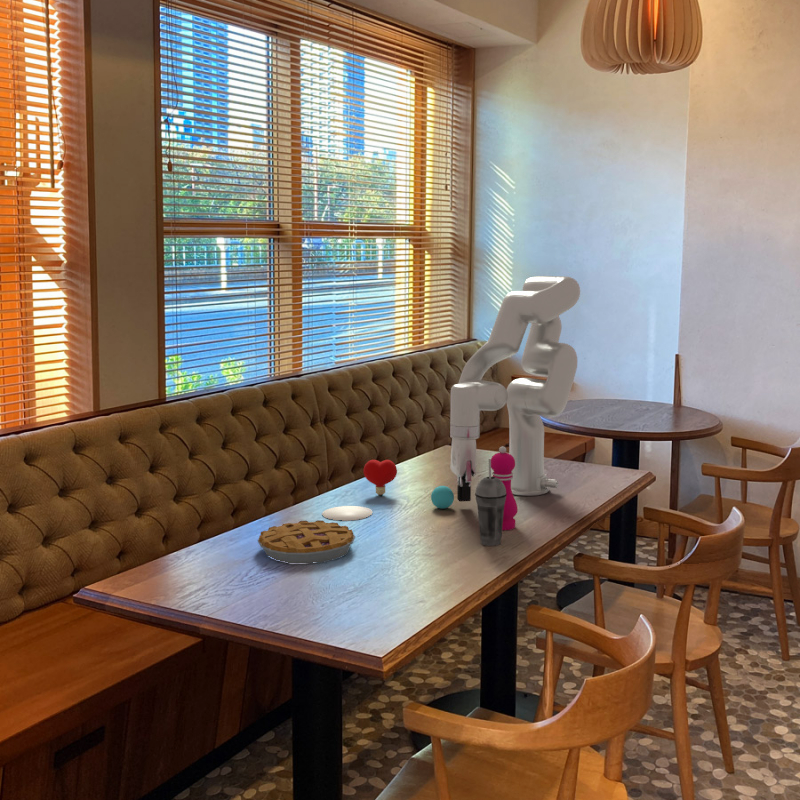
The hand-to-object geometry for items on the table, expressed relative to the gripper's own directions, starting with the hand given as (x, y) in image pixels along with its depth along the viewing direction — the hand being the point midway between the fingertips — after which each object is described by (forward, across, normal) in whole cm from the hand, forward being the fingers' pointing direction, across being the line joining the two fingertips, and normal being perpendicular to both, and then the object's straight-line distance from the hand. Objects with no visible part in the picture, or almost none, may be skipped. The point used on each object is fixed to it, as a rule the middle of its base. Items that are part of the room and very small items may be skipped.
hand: (463, 500), depth 243 cm
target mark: (+3, -1, -31) cm, 31 cm away
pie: (+4, +27, -43) cm, 51 cm away
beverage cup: (+3, +30, -1) cm, 30 cm away
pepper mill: (+2, +18, +5) cm, 19 cm away
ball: (-1, -1, -6) cm, 6 cm away
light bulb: (+2, -17, -20) cm, 26 cm away
